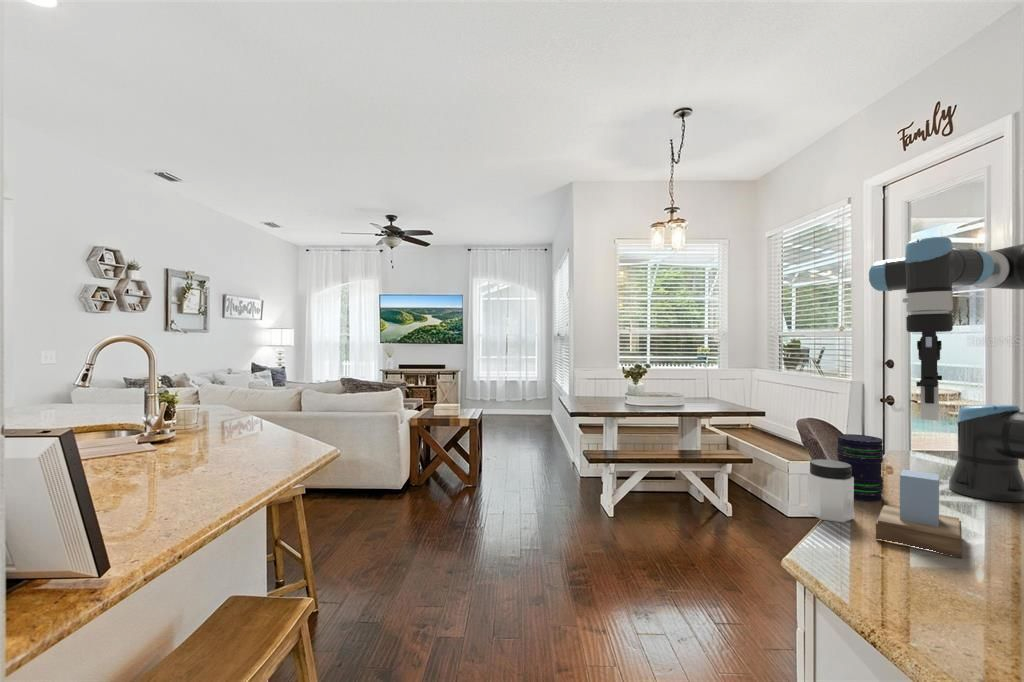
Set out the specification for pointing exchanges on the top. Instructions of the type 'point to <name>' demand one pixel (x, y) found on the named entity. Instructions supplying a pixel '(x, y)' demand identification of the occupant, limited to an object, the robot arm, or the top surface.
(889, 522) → the base block
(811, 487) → the jar
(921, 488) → the slate block
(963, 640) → the top surface
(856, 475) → the dark blue upright cylinder
